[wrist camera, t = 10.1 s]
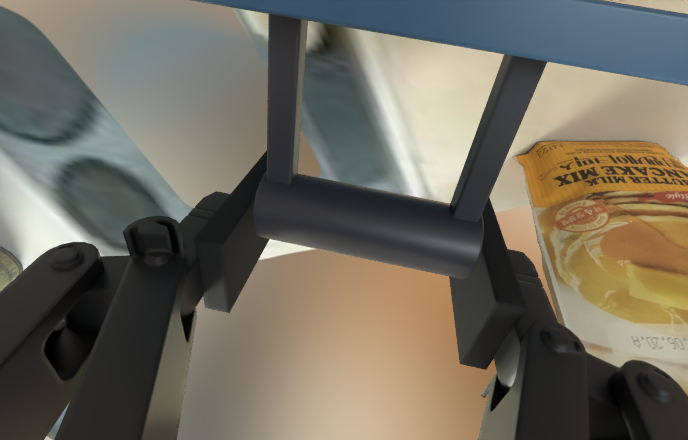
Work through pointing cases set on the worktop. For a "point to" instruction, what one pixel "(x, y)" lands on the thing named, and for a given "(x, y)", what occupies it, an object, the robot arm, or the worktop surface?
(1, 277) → the olive green rough post
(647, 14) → the lid
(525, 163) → the pancake mix bag
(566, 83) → the worktop surface
